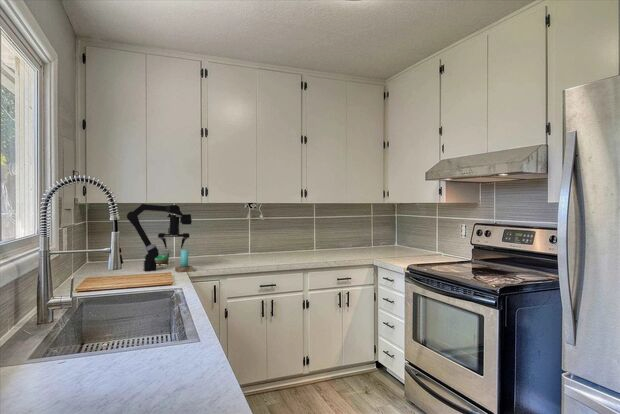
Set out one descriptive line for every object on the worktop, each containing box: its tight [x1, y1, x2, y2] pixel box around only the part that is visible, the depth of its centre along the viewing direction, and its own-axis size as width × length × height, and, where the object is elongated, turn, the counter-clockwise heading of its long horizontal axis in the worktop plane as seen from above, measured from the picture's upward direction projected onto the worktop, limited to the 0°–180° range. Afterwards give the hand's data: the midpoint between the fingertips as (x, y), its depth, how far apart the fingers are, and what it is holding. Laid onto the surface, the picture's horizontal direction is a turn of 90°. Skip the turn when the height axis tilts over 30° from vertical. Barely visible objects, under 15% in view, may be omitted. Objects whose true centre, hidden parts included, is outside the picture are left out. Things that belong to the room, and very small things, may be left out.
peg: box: [180, 249, 189, 268], centre depth 237 cm, size 4×4×13 cm
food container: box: [155, 249, 171, 265], centre depth 263 cm, size 12×6×10 cm, turn 105°
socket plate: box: [174, 265, 195, 273], centre depth 237 cm, size 9×9×2 cm
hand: (173, 248), depth 243 cm, fingers open, 9 cm apart
